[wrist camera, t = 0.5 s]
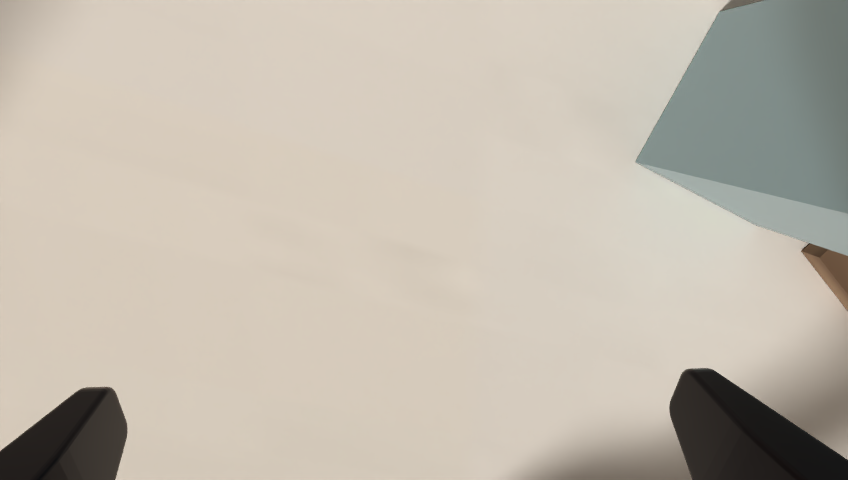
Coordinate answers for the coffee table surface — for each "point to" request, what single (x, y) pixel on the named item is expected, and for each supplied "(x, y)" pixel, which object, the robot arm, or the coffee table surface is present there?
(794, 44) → the grey-blue block
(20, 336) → the coffee table surface
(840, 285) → the dock
